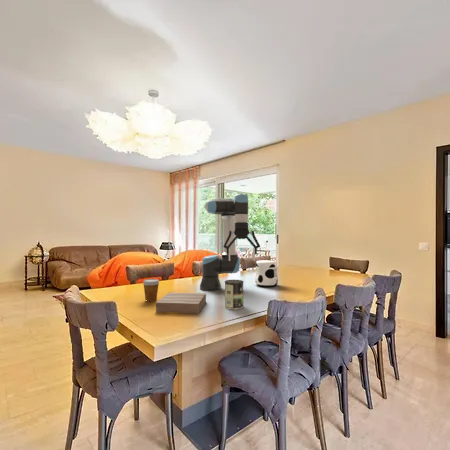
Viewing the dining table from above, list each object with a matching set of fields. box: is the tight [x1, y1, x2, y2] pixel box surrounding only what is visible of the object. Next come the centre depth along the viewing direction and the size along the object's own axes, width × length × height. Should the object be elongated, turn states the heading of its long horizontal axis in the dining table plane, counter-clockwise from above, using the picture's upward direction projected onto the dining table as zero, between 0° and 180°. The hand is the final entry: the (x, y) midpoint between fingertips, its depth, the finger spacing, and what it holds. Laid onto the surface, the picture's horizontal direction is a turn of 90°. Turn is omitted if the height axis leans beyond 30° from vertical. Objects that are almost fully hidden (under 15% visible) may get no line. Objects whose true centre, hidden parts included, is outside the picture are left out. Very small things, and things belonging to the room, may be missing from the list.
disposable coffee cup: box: [142, 278, 160, 302], centre depth 166 cm, size 10×10×12 cm
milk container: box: [254, 259, 279, 288], centre depth 209 cm, size 17×17×18 cm
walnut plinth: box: [155, 292, 207, 314], centre depth 152 cm, size 22×22×5 cm
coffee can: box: [224, 279, 244, 310], centre depth 153 cm, size 10×10×14 cm
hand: (241, 260), depth 154 cm, fingers open, 13 cm apart
